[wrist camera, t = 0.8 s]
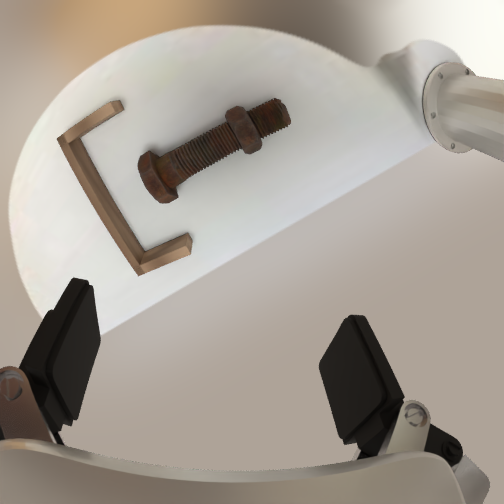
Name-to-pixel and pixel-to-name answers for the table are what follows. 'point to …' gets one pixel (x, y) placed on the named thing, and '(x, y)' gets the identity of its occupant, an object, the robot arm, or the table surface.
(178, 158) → the bolt
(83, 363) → the robot arm
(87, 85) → the table surface
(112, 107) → the bracket
